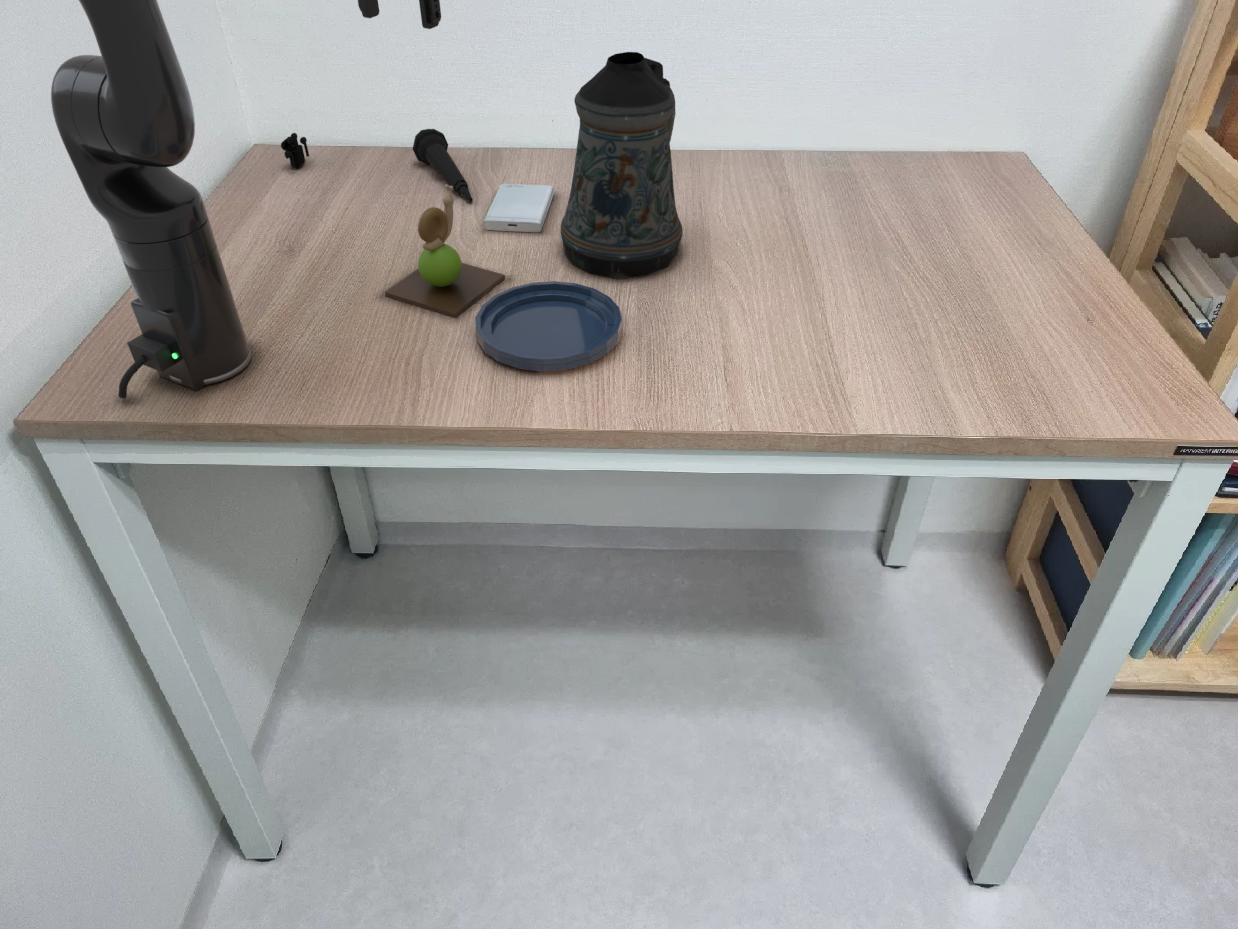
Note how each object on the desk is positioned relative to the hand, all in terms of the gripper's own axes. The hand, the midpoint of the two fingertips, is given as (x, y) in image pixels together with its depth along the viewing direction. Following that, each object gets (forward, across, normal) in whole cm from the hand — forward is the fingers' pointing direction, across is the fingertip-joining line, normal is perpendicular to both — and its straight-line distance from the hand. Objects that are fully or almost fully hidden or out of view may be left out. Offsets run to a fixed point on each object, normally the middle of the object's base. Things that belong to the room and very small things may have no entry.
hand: (401, 21), depth 104 cm
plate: (+30, +23, -8) cm, 39 cm away
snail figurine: (+30, +5, -5) cm, 31 cm away
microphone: (+30, -15, +22) cm, 40 cm away
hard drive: (+30, +2, +18) cm, 35 cm away
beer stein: (+30, +20, +16) cm, 40 cm away
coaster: (+30, +6, -5) cm, 31 cm away
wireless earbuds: (+30, -39, +15) cm, 52 cm away
